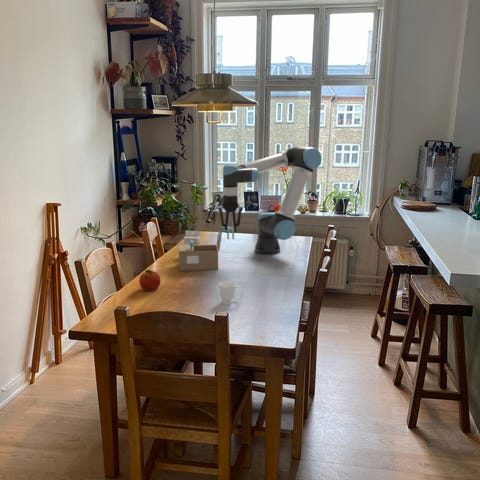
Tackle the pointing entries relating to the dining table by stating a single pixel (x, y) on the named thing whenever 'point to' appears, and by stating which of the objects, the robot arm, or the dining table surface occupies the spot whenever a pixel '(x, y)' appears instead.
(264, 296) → the dining table surface
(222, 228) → the flap
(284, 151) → the robot arm
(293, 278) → the dining table surface
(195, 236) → the ink box
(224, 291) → the cup
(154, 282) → the fruit
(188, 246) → the flap
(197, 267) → the carton
